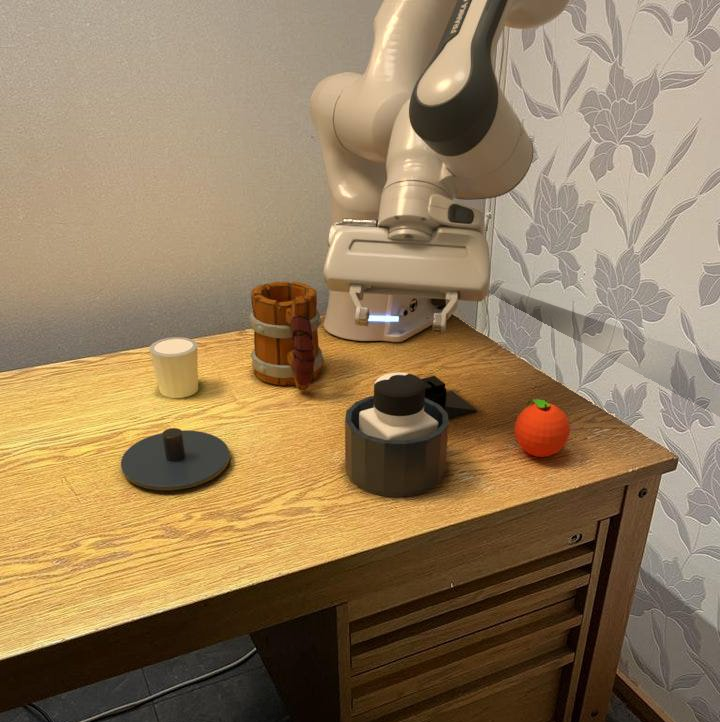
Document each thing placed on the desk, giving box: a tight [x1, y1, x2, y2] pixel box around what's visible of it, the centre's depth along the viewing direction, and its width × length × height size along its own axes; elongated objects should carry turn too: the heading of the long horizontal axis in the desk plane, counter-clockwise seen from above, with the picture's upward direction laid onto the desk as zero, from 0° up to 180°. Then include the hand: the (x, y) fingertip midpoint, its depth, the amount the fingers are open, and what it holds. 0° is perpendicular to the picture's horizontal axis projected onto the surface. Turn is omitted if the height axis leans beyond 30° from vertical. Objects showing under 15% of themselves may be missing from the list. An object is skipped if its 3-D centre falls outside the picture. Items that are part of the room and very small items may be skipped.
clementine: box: [514, 398, 571, 458], centre depth 102 cm, size 8×7×7 cm
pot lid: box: [120, 427, 230, 491], centre depth 100 cm, size 13×13×5 cm
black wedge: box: [420, 375, 478, 421], centre depth 112 cm, size 12×7×5 cm, turn 117°
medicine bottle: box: [359, 371, 438, 441], centre depth 97 cm, size 7×7×12 cm
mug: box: [249, 280, 325, 391], centre depth 118 cm, size 11×16×15 cm, turn 20°
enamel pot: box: [344, 395, 450, 498], centre depth 98 cm, size 12×12×8 cm
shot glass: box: [148, 336, 199, 399], centre depth 117 cm, size 7×7×7 cm
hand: (399, 327), depth 96 cm, fingers open, 8 cm apart
